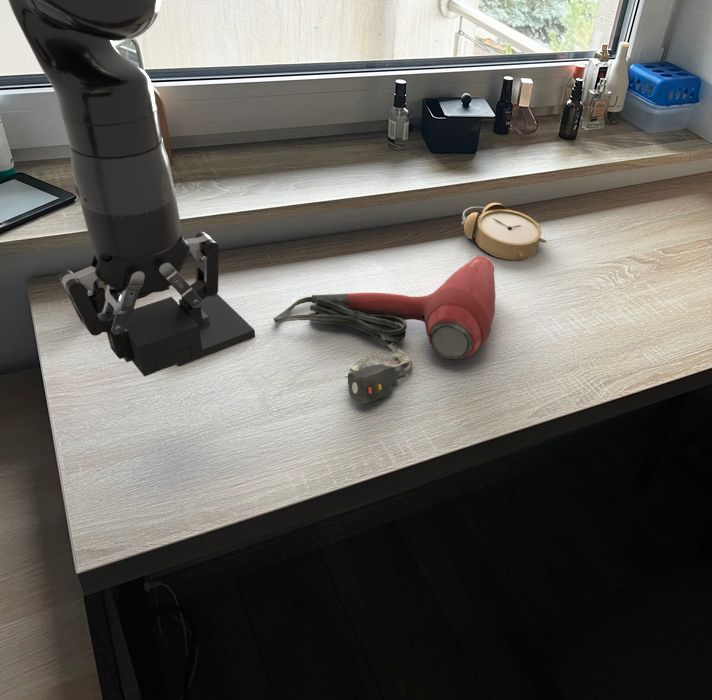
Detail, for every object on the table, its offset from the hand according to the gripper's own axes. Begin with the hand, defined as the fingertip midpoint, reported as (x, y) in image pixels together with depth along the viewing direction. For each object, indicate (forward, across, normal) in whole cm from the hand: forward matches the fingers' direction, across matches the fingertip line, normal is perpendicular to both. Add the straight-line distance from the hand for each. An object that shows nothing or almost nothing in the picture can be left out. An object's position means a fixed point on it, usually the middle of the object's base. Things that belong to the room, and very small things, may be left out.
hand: (160, 344), depth 72 cm
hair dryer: (+16, +36, +4) cm, 39 cm away
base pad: (+16, +11, +20) cm, 28 cm away
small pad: (+1, 0, 0) cm, 1 cm away
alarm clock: (+16, +64, +15) cm, 68 cm away
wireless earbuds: (+16, +2, +32) cm, 35 cm away
